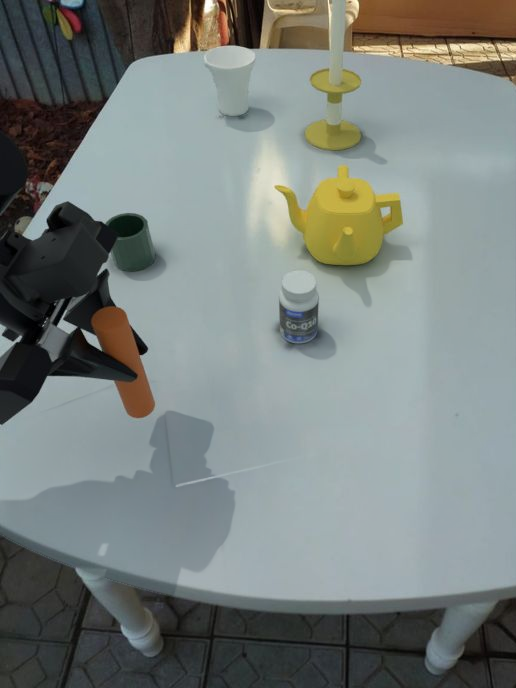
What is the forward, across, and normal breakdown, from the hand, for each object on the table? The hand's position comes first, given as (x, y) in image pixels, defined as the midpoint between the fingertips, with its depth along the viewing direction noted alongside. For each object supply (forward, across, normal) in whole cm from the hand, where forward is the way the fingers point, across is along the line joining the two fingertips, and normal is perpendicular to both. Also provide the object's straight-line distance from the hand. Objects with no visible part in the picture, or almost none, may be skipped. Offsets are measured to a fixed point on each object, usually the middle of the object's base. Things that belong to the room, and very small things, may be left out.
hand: (140, 365), depth 52 cm
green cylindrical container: (+1, +29, +18) cm, 34 cm away
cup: (+5, +71, +14) cm, 73 cm away
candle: (+18, +65, +1) cm, 68 cm away
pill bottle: (+18, +18, +1) cm, 26 cm away
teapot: (+21, +35, -1) cm, 41 cm away
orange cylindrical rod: (+4, 0, +6) cm, 7 cm away
